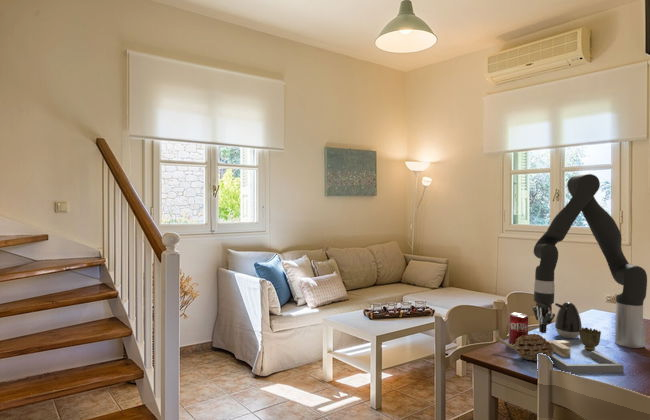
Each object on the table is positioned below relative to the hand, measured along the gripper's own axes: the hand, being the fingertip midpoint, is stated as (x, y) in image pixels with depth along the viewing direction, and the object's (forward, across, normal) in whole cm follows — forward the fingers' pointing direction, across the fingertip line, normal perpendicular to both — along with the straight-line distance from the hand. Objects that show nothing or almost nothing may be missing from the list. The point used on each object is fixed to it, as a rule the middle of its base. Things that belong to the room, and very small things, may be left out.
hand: (542, 332), depth 178 cm
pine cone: (+5, -16, +18) cm, 25 cm away
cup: (+4, -8, -14) cm, 17 cm away
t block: (+4, -10, 0) cm, 11 cm away
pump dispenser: (+4, +8, -16) cm, 19 cm away
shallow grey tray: (+4, -24, 0) cm, 24 cm away
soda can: (+5, 0, +11) cm, 12 cm away
